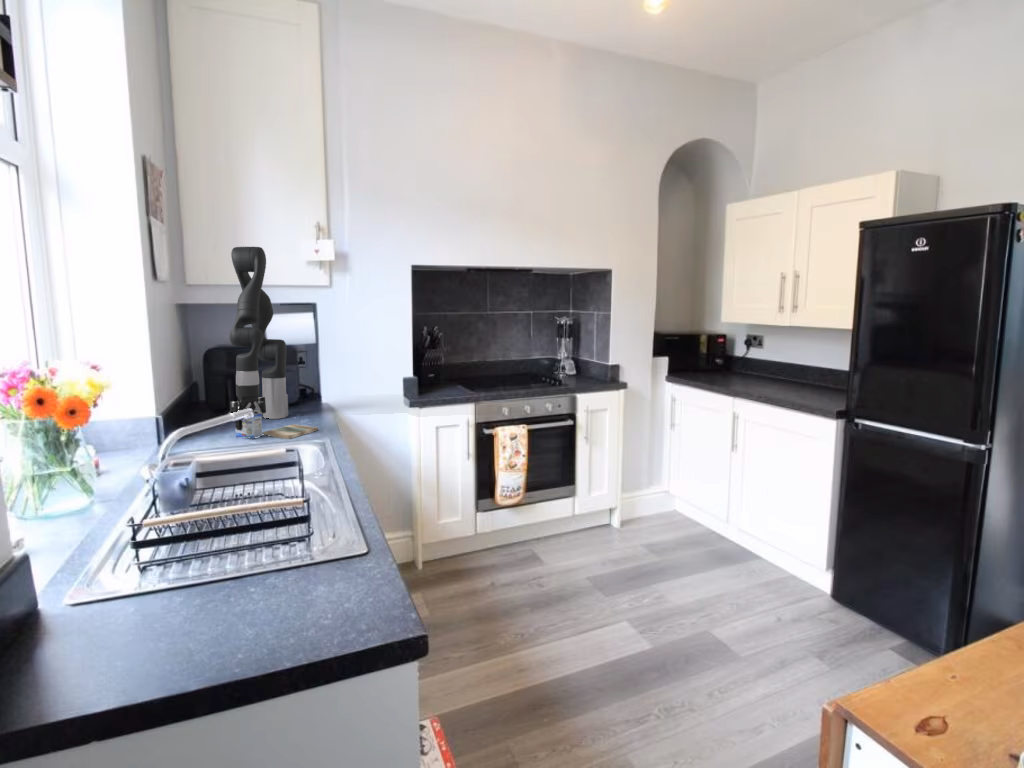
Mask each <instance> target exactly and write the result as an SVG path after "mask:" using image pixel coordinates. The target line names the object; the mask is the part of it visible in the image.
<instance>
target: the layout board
mask: <svg viewBox="0 0 1024 768" xmlns="http://www.w3.org/2000/svg"><path fill="white" fill-rule="evenodd" d="M317 430H318V431H319V427H316V426H310V425H309V426H308V425H301V424H295V423H294V424H289V425H285V426H281V427H277V428H274V429H270V430H265V431H262V434H264V435H270V436H274V437H273V438H278V437H279V439H287V440H290V439H293V438H297V437H301V436H303V435H307V433H308V434H310V433H314V431H315V432H317ZM270 436H269V437H270Z"/></svg>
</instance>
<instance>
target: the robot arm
mask: <svg viewBox="0 0 1024 768" xmlns="http://www.w3.org/2000/svg"><path fill="white" fill-rule="evenodd" d="M230 256H231V262H232V265H233V268H234V272H235V274H236V276H237V279H238V282H239V285H240V288H241V293H240V294H239V297H238V299H237V305H236V317H235V320H234V323H233V325H232V326H231V330H230V333H229V343H230V344H231V345H232V346H233V347H235V348H251V349H250V351H248V352H245V353H240V354H237V355H236V358H235V363H236V364H235V366H236V367H235V368H236V372H235V393H236V395H235V396H236V397H237V401H234V400H232V401H230V402H229V414H230V413H233V412H237V411H240V410H241V411H242V410H243V409H247V408H252V409H253V411H254V412H253V411H252V412H253V413H256V414H262V418H263V417H264V418H263V419H266V418H269V419H268V420H278V419H285V418H287V417H288V416H289V395H288V394H287V382H286V381H287V378H286V375H287V374H286V373H287V343H286V342H285V340H283V339H277V338H275V339H274V338H272V339H271V338H267V337H266V334H265V333H266V330H267V328H268V326H269V325H270V323H271V321H272V319H273V317H274V309H273V305H272V300H271V298H270V296H269V295H268V294H267V293H266V292H265V291H264V290H263V289H262V287H263V283H264V278H265V273H266V268H267V258H266V253H265V250H264V249H263V248H262V247H261V246H235V247H233V248H232V250H231V252H230ZM250 273H253V275H252V277H251V275H250ZM249 325H251V327H250V326H249ZM247 326H248V327H247ZM259 360H261V361H262V362H263V361H264V362H275V364H274V365H273V366H272V367H270V368H269V367H268V368H266V369H263V370H262V372H261V385H262V386H261V388H262V392H261V393H262V396H260V375H259ZM234 421H235V420H234ZM234 424H235V430H236V429H237V430H242V429H243V423H242V420H239V421H235V423H234Z"/></svg>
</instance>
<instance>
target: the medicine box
mask: <svg viewBox="0 0 1024 768" xmlns="http://www.w3.org/2000/svg"><path fill="white" fill-rule="evenodd" d="M253 413H254V412H253ZM262 420H263V414H256V413H254V417H253V418H252V419H243V420H242V423H243V429H242V430H237V429H236V428H235V438H238V437H250V438H255V437H258V436H262V437H263V435H262V432H263V425H262V424H263V422H262Z"/></svg>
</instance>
